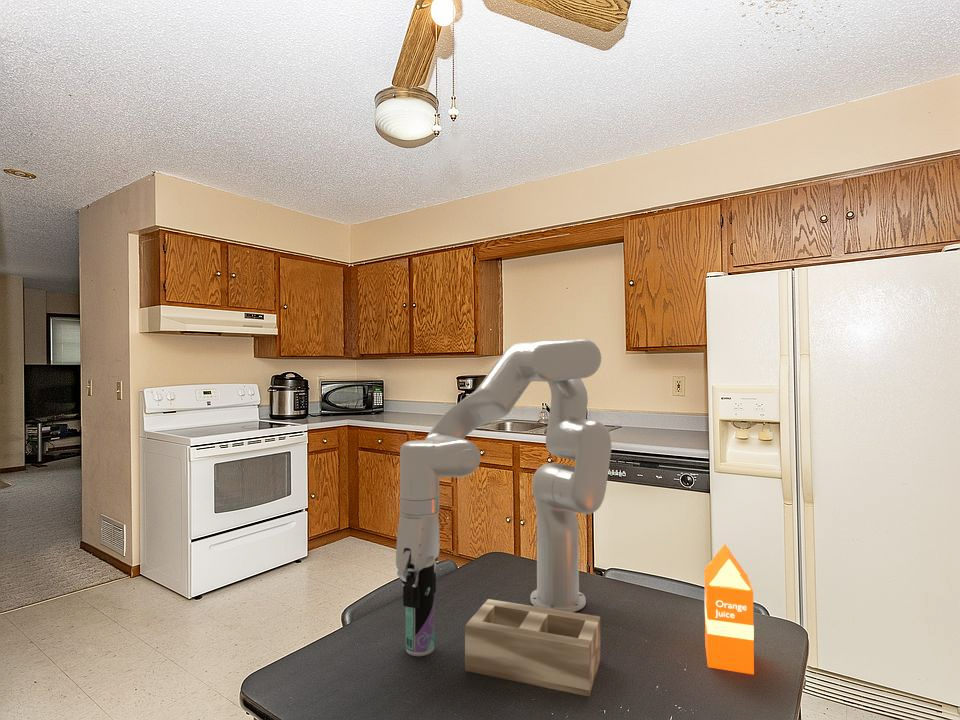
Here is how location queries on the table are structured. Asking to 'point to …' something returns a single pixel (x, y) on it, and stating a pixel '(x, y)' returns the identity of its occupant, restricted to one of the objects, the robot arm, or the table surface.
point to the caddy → (534, 646)
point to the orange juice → (728, 615)
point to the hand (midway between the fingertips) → (419, 598)
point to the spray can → (422, 614)
